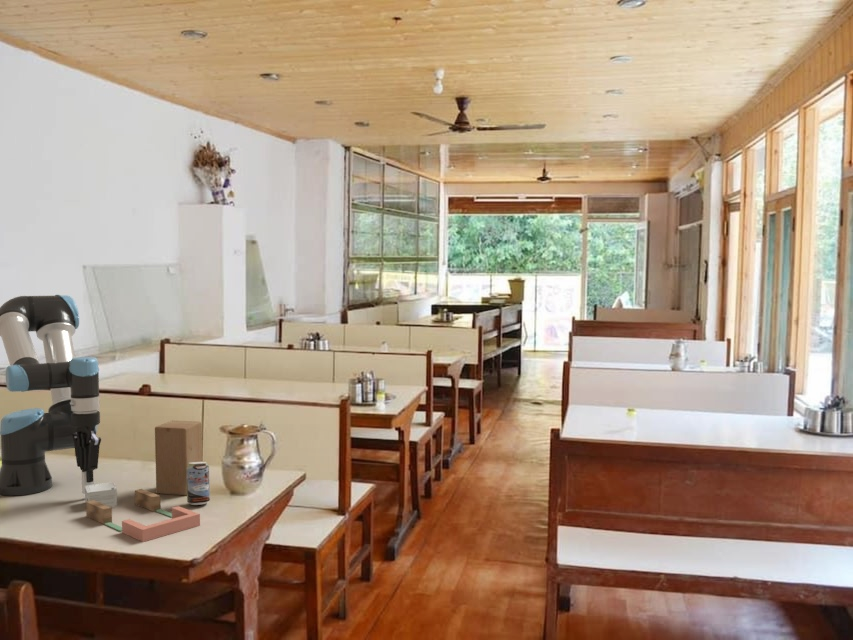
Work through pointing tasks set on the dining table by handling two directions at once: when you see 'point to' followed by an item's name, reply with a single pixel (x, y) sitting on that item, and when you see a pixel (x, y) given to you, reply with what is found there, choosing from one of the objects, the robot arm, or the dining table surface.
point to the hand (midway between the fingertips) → (88, 492)
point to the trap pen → (162, 525)
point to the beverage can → (198, 483)
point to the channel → (105, 512)
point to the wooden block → (176, 454)
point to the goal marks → (121, 527)
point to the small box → (102, 493)
